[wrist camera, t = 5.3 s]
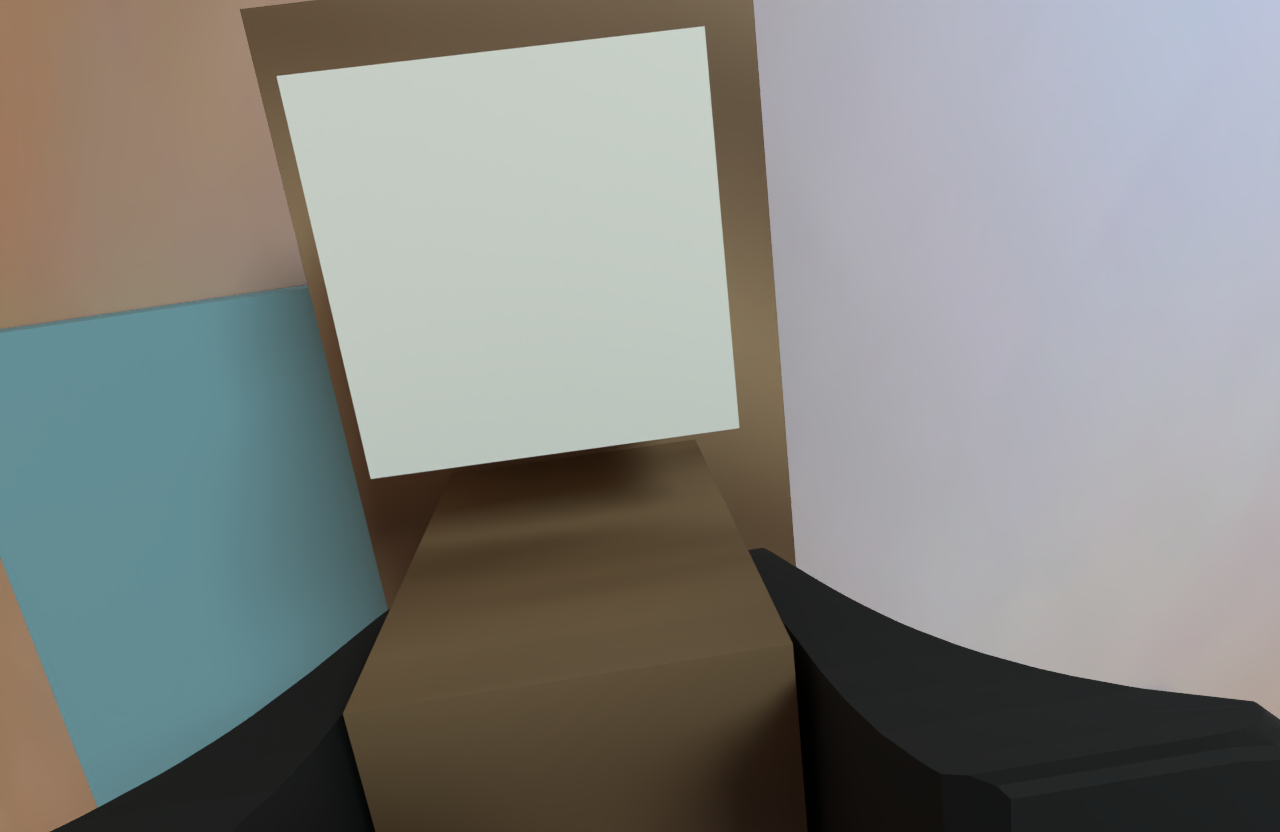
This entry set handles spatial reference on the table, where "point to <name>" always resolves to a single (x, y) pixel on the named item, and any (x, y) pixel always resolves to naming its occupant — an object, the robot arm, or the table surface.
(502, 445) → the block
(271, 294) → the dock
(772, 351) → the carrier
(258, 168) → the table surface
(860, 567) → the table surface
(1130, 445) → the table surface
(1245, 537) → the table surface
